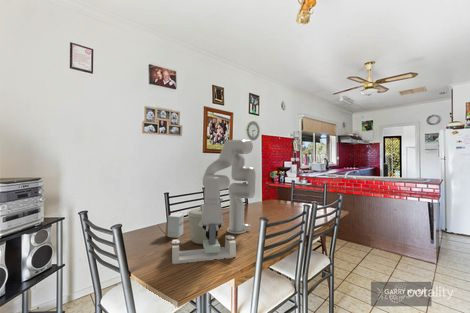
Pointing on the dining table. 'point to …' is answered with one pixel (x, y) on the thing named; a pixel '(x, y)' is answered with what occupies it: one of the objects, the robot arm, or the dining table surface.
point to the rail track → (201, 256)
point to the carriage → (211, 241)
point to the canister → (196, 226)
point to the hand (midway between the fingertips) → (211, 237)
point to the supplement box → (175, 225)
